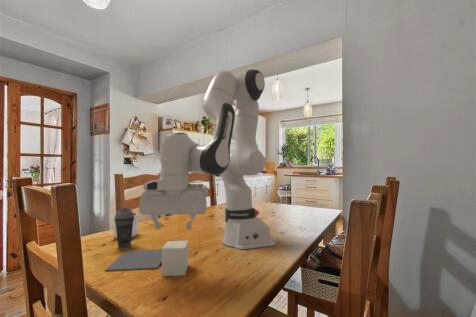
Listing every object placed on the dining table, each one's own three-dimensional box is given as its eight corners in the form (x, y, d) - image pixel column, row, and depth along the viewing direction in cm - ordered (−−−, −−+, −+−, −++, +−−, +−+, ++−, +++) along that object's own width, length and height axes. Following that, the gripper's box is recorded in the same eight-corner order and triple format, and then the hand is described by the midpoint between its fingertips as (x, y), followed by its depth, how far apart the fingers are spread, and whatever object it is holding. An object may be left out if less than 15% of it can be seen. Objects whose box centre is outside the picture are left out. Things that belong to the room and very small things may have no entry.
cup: (113, 241, 99) (113, 218, 99) (113, 235, 108) (113, 214, 108) (138, 237, 104) (138, 215, 104) (136, 232, 113) (136, 212, 113)
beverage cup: (126, 250, 88) (126, 198, 89) (110, 249, 90) (110, 198, 90) (138, 244, 95) (138, 196, 96) (122, 243, 97) (122, 196, 97)
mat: (168, 249, 88) (168, 248, 88) (157, 268, 72) (157, 267, 72) (126, 251, 87) (126, 250, 87) (105, 271, 71) (105, 270, 71)
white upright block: (188, 265, 74) (188, 240, 74) (185, 275, 67) (184, 248, 68) (167, 266, 74) (166, 241, 74) (161, 276, 67) (161, 249, 67)
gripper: (208, 183, 75) (207, 225, 74) (144, 183, 73) (143, 226, 73) (207, 184, 69) (206, 230, 68) (137, 184, 67) (136, 232, 66)
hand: (173, 228), depth 70 cm, fingers open, 8 cm apart
